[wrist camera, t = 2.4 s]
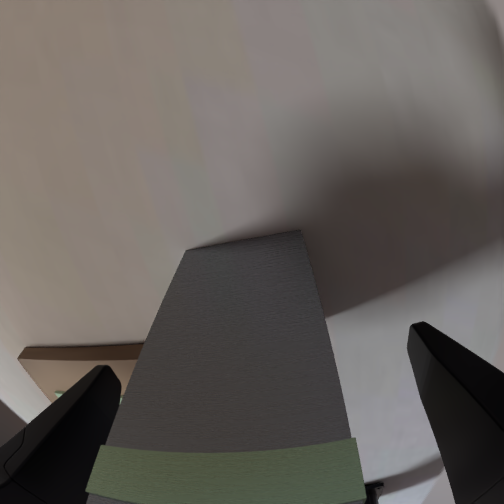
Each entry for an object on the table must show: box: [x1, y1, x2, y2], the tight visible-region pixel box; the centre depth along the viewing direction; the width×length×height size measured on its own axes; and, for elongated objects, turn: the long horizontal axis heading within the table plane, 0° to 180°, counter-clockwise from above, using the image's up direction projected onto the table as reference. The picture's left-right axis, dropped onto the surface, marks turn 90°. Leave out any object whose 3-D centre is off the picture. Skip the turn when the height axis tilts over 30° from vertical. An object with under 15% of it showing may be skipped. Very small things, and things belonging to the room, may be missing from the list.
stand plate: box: [17, 344, 144, 403], centre depth 16 cm, size 14×12×1 cm
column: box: [86, 230, 367, 504], centre depth 7 cm, size 4×4×9 cm
